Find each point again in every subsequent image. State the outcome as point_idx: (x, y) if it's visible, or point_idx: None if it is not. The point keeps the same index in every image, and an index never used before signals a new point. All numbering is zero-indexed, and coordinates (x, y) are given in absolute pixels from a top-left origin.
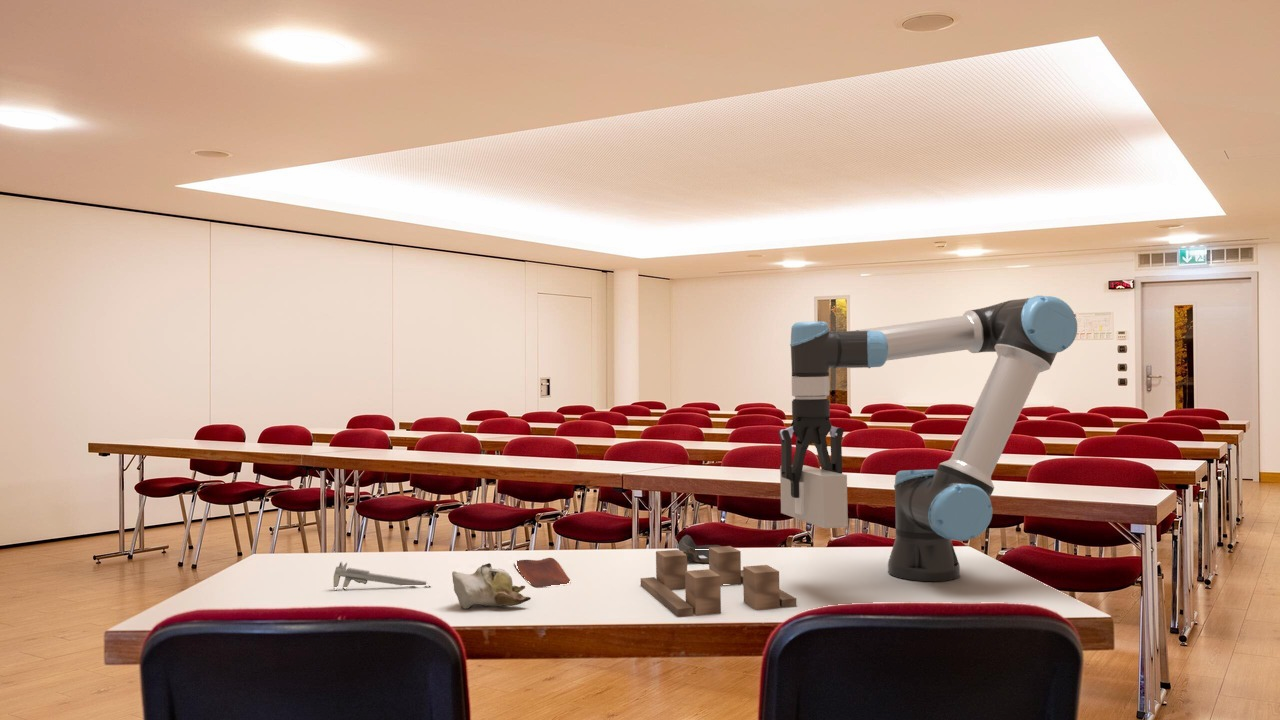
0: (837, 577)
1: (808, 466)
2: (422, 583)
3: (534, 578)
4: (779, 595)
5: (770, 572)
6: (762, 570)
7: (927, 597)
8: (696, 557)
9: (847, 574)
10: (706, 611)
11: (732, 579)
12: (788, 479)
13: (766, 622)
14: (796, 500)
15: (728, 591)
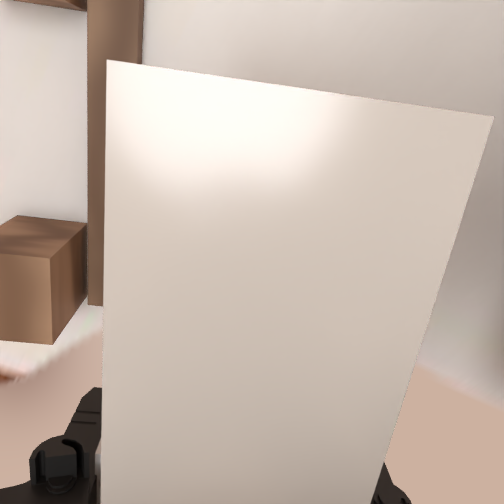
0: (421, 76)
1: (400, 359)
2: None
3: None
4: (76, 309)
5: (24, 340)
6: (6, 318)
7: (450, 350)
8: None
9: (477, 53)
10: None
11: (47, 3)
12: (15, 490)
13: (11, 374)
14: None
15: (14, 82)
